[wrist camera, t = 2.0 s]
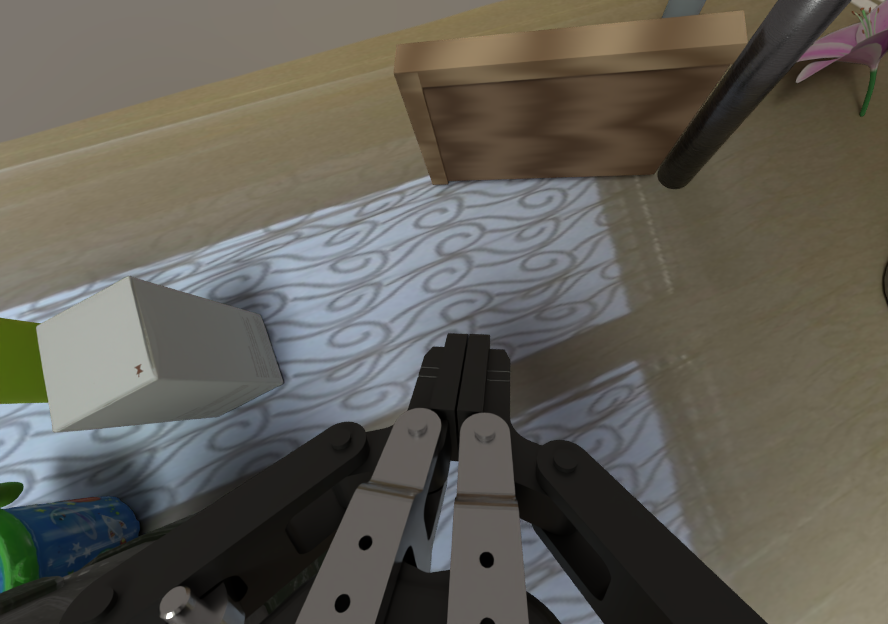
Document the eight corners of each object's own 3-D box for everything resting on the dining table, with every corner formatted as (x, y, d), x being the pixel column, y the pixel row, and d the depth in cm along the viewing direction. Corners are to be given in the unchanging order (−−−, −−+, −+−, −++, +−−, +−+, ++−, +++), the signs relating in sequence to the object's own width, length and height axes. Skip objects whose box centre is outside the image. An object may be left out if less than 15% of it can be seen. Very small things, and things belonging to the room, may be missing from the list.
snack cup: (197, 569, 31) (53, 654, 21) (106, 664, 30) (-85, 797, 20) (110, 431, 35) (-46, 447, 25) (28, 513, 34) (-163, 563, 24)
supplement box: (262, 312, 35) (131, 270, 23) (286, 384, 33) (157, 382, 21) (195, 346, 35) (30, 323, 23) (215, 419, 33) (47, 437, 21)
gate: (651, 156, 30) (743, 10, 19) (652, 177, 30) (747, 42, 18) (434, 164, 33) (396, 44, 22) (432, 184, 33) (393, 72, 21)
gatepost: (690, 160, 31) (873, -66, 16) (692, 188, 31) (883, -17, 15) (657, 161, 32) (803, -57, 16) (658, 189, 31) (811, -9, 16)
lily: (896, 40, 31) (952, -107, 25) (1015, 110, 25) (1137, -67, 18) (729, 108, 36) (738, 1, 30) (790, 181, 30) (820, 64, 23)
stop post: (668, 59, 33) (743, -91, 23) (670, 85, 33) (747, -56, 22) (635, 62, 34) (694, -84, 23) (636, 88, 33) (697, -50, 23)
